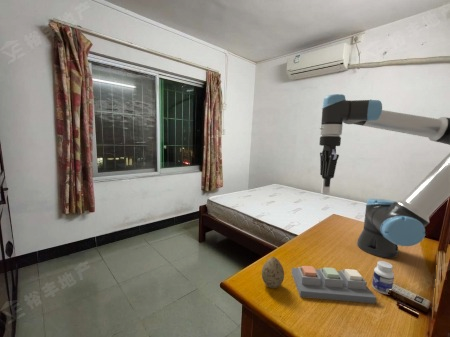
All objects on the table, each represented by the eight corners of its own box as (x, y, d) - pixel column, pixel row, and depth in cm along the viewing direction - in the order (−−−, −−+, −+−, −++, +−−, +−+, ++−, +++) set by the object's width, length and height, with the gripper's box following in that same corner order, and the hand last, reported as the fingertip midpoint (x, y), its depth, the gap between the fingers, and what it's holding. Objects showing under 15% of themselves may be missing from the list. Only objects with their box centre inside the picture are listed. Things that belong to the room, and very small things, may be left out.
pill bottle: (370, 282, 73) (373, 258, 72) (388, 286, 71) (391, 261, 70) (374, 292, 68) (378, 266, 67) (394, 296, 66) (398, 270, 65)
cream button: (355, 278, 70) (356, 269, 70) (361, 285, 67) (362, 276, 67) (343, 277, 71) (344, 268, 70) (349, 284, 67) (350, 275, 67)
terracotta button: (312, 274, 72) (312, 266, 71) (315, 281, 68) (316, 273, 68) (301, 273, 72) (301, 265, 72) (304, 280, 68) (305, 272, 68)
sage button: (333, 276, 71) (334, 268, 71) (338, 283, 68) (339, 274, 67) (322, 275, 71) (323, 267, 71) (326, 282, 68) (327, 273, 67)
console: (354, 277, 75) (356, 265, 74) (375, 303, 63) (377, 289, 62) (291, 272, 77) (292, 261, 76) (300, 296, 65) (301, 283, 64)
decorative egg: (266, 276, 74) (267, 249, 73) (286, 284, 70) (288, 256, 69) (257, 287, 68) (259, 259, 67) (278, 297, 64) (281, 266, 63)
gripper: (315, 135, 90) (310, 189, 93) (327, 135, 77) (321, 197, 81) (333, 136, 90) (328, 190, 93) (348, 135, 77) (341, 198, 80)
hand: (325, 193), depth 87 cm, fingers closed
